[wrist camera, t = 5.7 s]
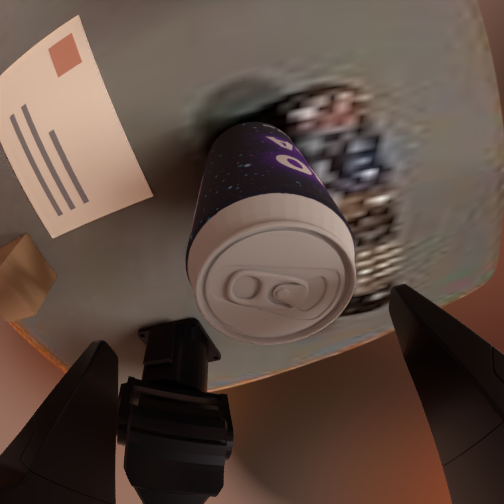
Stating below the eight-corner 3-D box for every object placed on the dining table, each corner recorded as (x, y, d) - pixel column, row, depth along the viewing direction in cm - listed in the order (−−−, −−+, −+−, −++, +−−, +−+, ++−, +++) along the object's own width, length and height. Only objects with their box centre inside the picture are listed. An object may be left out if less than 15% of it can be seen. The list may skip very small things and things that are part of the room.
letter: (153, 195, 19) (153, 196, 19) (53, 238, 21) (52, 239, 20) (78, 15, 11) (77, 14, 11) (-18, 93, 13) (-19, 94, 12)
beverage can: (281, 209, 21) (323, 356, 11) (199, 192, 20) (173, 340, 10) (307, 132, 18) (400, 235, 8) (218, 110, 16) (196, 188, 7)
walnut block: (57, 275, 23) (35, 315, 19) (27, 286, 24) (7, 322, 20) (27, 231, 20) (-2, 268, 16) (0, 248, 21) (-27, 282, 17)
